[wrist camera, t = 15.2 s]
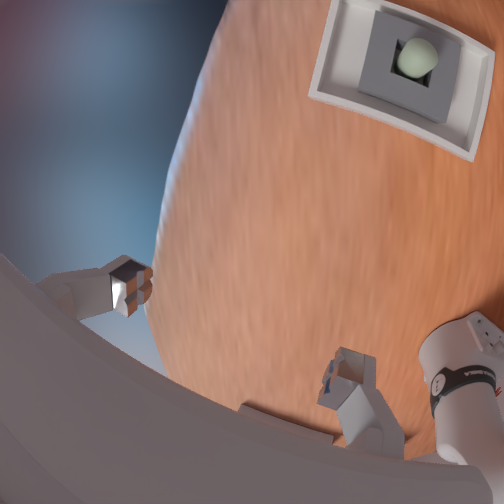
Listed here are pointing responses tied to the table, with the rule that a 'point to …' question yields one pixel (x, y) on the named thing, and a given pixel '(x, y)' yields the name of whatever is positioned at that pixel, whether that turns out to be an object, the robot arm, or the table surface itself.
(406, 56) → the peg
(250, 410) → the shell tray
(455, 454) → the robot arm
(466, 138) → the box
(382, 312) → the table surface
